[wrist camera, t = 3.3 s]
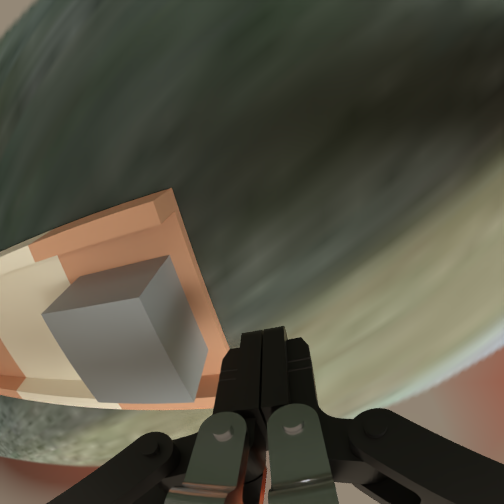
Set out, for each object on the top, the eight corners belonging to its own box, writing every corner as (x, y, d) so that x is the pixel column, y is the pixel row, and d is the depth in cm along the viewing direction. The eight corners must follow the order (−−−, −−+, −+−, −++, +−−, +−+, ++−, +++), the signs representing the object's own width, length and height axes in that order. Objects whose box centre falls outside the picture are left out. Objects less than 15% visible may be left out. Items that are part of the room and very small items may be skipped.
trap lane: (171, 187, 14) (152, 200, 12) (241, 376, 19) (236, 406, 16) (-62, 282, 19) (-76, 293, 17) (-8, 376, 23) (-19, 390, 21)
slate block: (169, 254, 15) (139, 297, 11) (208, 349, 17) (194, 402, 13) (79, 276, 16) (40, 314, 12) (122, 357, 18) (98, 402, 14)
